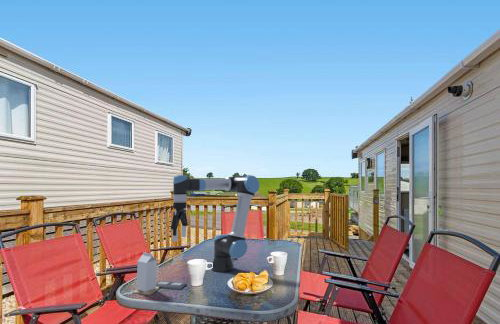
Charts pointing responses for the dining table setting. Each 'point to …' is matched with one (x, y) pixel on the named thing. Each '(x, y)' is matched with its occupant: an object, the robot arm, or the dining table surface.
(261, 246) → the dining table surface
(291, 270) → the dining table surface
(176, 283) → the label panel
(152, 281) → the milk carton
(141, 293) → the coaster
